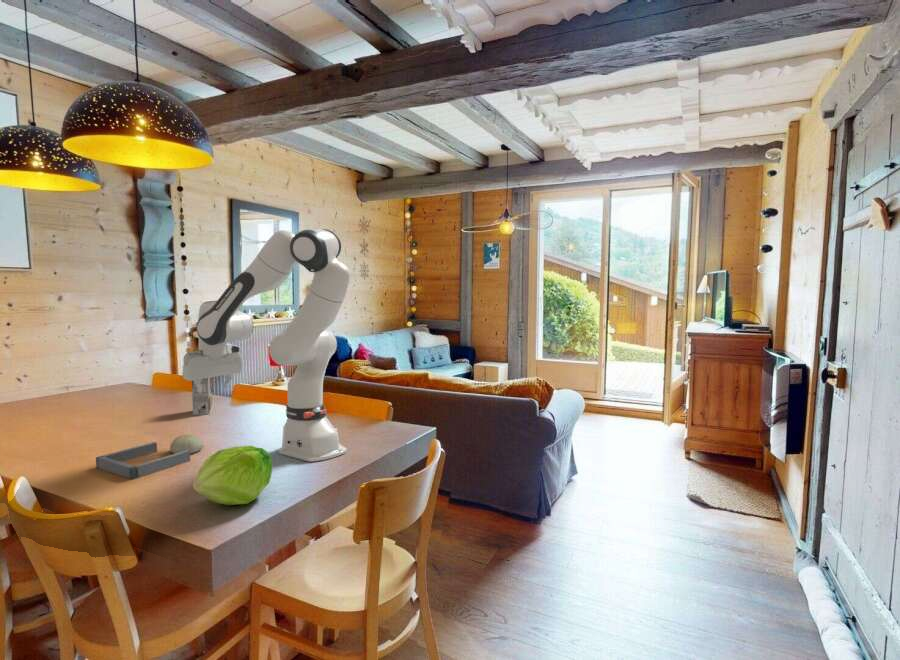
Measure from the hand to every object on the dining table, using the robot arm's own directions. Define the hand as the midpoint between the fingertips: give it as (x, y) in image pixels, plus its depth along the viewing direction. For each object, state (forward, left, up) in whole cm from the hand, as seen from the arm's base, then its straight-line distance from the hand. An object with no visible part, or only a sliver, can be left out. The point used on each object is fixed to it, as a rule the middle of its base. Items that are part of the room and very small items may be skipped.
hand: (214, 389), depth 159 cm
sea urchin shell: (-3, +10, -18) cm, 21 cm away
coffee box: (+44, -12, -18) cm, 50 cm away
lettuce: (-51, +16, -18) cm, 56 cm away
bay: (-7, +23, -18) cm, 30 cm away
